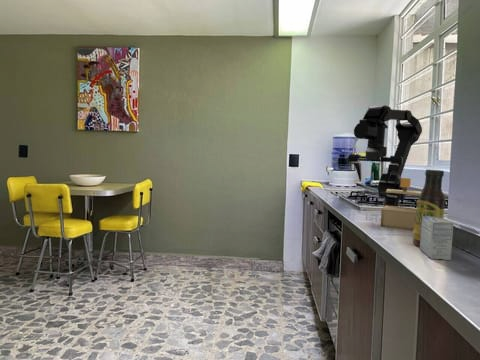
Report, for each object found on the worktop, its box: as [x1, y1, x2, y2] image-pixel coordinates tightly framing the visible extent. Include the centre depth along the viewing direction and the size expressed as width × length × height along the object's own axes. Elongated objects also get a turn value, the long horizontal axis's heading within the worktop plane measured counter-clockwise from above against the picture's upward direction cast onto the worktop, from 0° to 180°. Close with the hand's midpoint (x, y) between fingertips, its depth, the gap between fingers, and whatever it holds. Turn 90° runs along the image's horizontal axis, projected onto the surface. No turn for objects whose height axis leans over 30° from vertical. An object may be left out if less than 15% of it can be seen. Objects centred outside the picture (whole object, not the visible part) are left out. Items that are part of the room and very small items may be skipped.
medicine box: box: [419, 216, 454, 261], centre depth 81 cm, size 8×4×9 cm, turn 168°
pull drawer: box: [386, 177, 422, 196], centre depth 122 cm, size 7×12×5 cm, turn 63°
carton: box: [380, 205, 417, 231], centre depth 117 cm, size 15×12×6 cm
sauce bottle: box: [412, 168, 446, 247], centre depth 89 cm, size 6×6×20 cm
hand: (373, 182), depth 129 cm, fingers open, 9 cm apart
